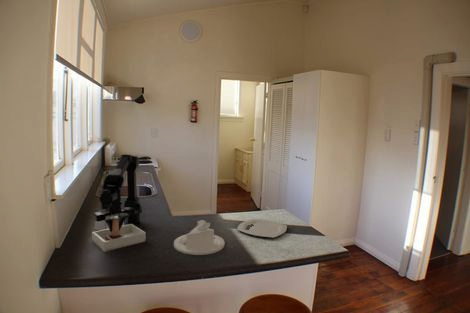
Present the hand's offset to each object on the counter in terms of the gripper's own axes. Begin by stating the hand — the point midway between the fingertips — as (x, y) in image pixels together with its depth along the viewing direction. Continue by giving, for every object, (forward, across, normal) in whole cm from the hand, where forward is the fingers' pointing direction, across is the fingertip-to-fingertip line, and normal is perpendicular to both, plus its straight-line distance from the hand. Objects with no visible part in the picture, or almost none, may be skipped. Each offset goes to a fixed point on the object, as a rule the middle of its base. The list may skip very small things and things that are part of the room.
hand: (115, 230), depth 146 cm
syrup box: (+3, +1, -24) cm, 24 cm away
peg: (+2, 0, 0) cm, 2 cm away
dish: (+6, -31, +27) cm, 42 cm away
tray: (+6, -2, 0) cm, 6 cm away
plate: (+6, -71, +33) cm, 78 cm away
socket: (+6, 0, 0) cm, 6 cm away
